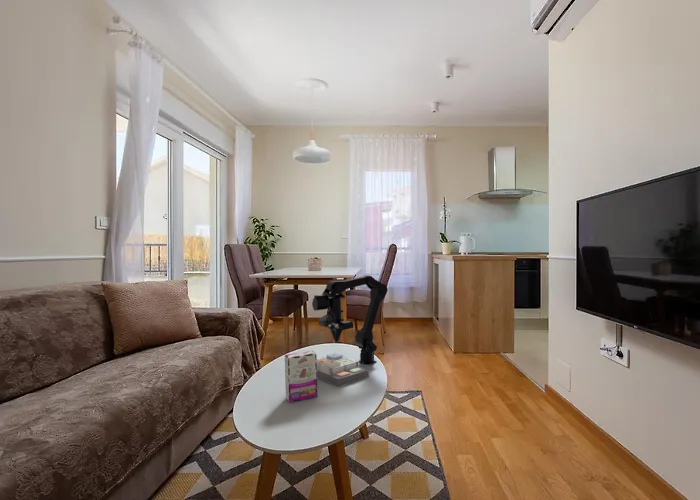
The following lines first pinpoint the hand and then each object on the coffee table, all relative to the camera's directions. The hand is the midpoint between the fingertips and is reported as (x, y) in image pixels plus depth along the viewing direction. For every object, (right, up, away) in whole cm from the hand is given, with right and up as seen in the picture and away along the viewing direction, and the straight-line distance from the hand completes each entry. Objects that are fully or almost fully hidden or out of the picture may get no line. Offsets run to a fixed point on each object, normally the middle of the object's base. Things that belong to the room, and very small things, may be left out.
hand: (336, 341), depth 171 cm
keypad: (+1, -12, -9) cm, 16 cm away
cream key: (-1, -8, -13) cm, 15 cm away
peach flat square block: (-6, -9, -7) cm, 13 cm away
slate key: (-1, -8, -3) cm, 8 cm away
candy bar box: (-12, -13, -34) cm, 38 cm away
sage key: (+4, -9, -8) cm, 13 cm away
